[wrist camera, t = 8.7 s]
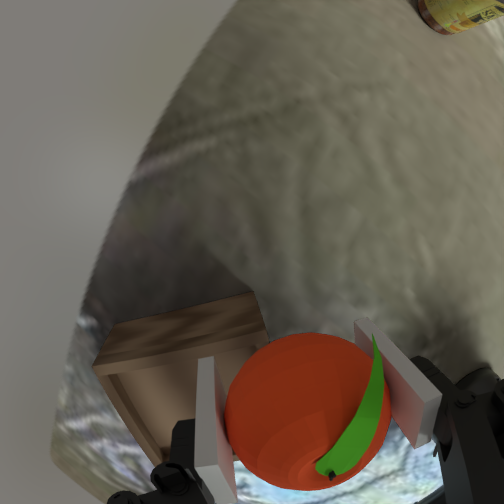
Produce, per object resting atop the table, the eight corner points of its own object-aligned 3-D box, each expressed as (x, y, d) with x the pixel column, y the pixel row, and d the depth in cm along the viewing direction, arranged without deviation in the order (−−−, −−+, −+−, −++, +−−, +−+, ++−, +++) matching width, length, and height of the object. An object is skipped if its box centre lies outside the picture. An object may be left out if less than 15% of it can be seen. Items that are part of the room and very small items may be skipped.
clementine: (260, 264, 14) (302, 353, 7) (386, 307, 15) (473, 384, 8) (203, 402, 15) (204, 516, 8) (318, 424, 17) (357, 518, 10)
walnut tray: (253, 291, 30) (266, 329, 22) (280, 400, 33) (295, 447, 26) (114, 324, 29) (91, 366, 22) (164, 423, 33) (158, 471, 25)
